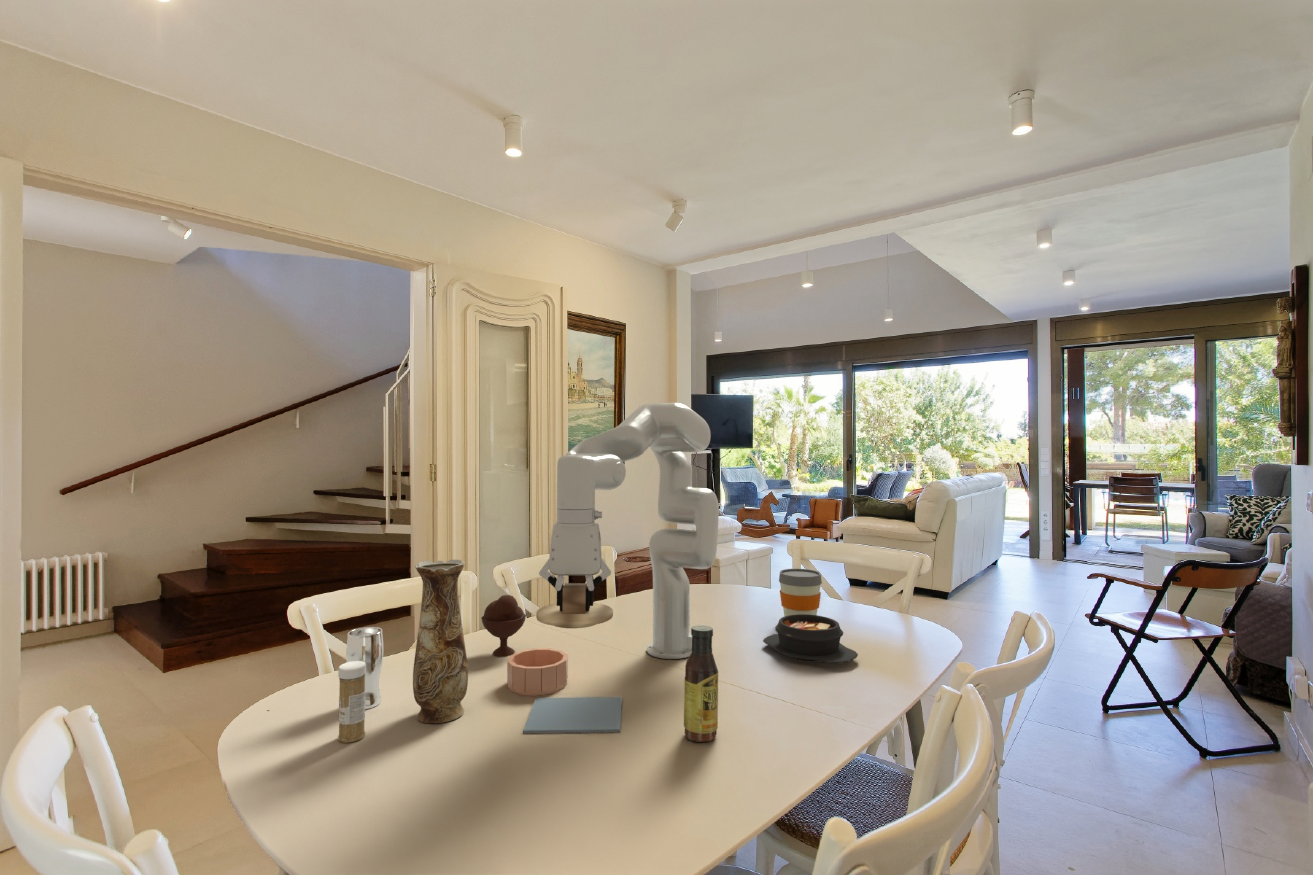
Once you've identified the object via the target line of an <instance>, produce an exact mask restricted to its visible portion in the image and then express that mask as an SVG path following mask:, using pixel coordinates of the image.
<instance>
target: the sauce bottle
mask: <svg viewBox="0 0 1313 875" xmlns="http://www.w3.org/2000/svg"><path fill="white" fill-rule="evenodd" d="M690 632H691V635H692V648H691V649H692V653H691V655H690V656H689V657H687V659H686V662H685V671H684V683H683V684H684V687H683V688H684V689H683V690H684V696H683V698H684V700H683V727H684V736H685V738H686V739H687V740H690V741H692V742H696V743H707V742H711V741H714V740H715V739H716V737H717V732H718V728H719V727H718V726H719V725H718V724H719V721H718V720H719V718H718V717H719V714H718V713H719V669H718V666H717V664H716V660H715V657H714V653H713V636H714V630H713V627H711V626H709V625H701V624H700V625H699V624H698V625H693V626H692V627H691V629H690Z"/></svg>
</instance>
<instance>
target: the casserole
mask: <svg viewBox="0 0 1313 875" xmlns="http://www.w3.org/2000/svg"><path fill="white" fill-rule="evenodd" d="M774 630H775V632H776V633H774V634H771V635H768V636H766V637H764V638H763V640H762V642H763V643H764V644H766V645H767V646H769V647H771V648H772V649H774V651H776V652H777V653H779V654H781V655H784V656H786V657H790V658H792V659H794V660H799V661H804V662H819V663H824V664H825V663H826V664H831V665H832V664H833V665H834V664H835V665H836V664H842V663H847V662H852V661H853V660H855V659H857V657H858V656H859V654H858V652H856V651H855V650H853V649H852V648H850V647H846V646H845V645H844V644H842V643H840V642H841V638H842V637H843V636H844V630H843V629H841V626H840V623H839V622H838V621H837V620H835V619H833V618H830V617H826V616H822V615H807V614H798V615H789V616H785V617H784V616H782V617H780V618H779V619H778V623H777V625H776V626H775V627H774Z"/></svg>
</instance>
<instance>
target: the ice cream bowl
mask: <svg viewBox="0 0 1313 875" xmlns="http://www.w3.org/2000/svg"><path fill="white" fill-rule="evenodd" d="M526 616H527V615H526V613H524V611H523V609H522V608H521V607H520V606H519V604H518V601H517V599H516V598H515V597H514V596H513V595H510V594H504V595H503V594H502V595H501V596H500V597H499V598H498V599H495V600H493V601H492V602H490V603H489V604H488V605H487V606H486V608H485V609H484V614H483V615H482V617H481V623H482V625H483V627H484V629H485V630H486V631H487V632H489V634H491V636H493V637H496V638H498V639H499V642H500V643H499V647H497V648H495V649H494V650H493V651H492V655H493V656H494V657H510V656H511V655H513V654H515V653H516V651H515V649H513V647H510V646H508V639H509V637H510V638H511V637H512V636H513V635H515V634H516V633H518V631H519V630H521V628H522V627H523V626H524V623H525V621H526Z"/></svg>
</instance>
